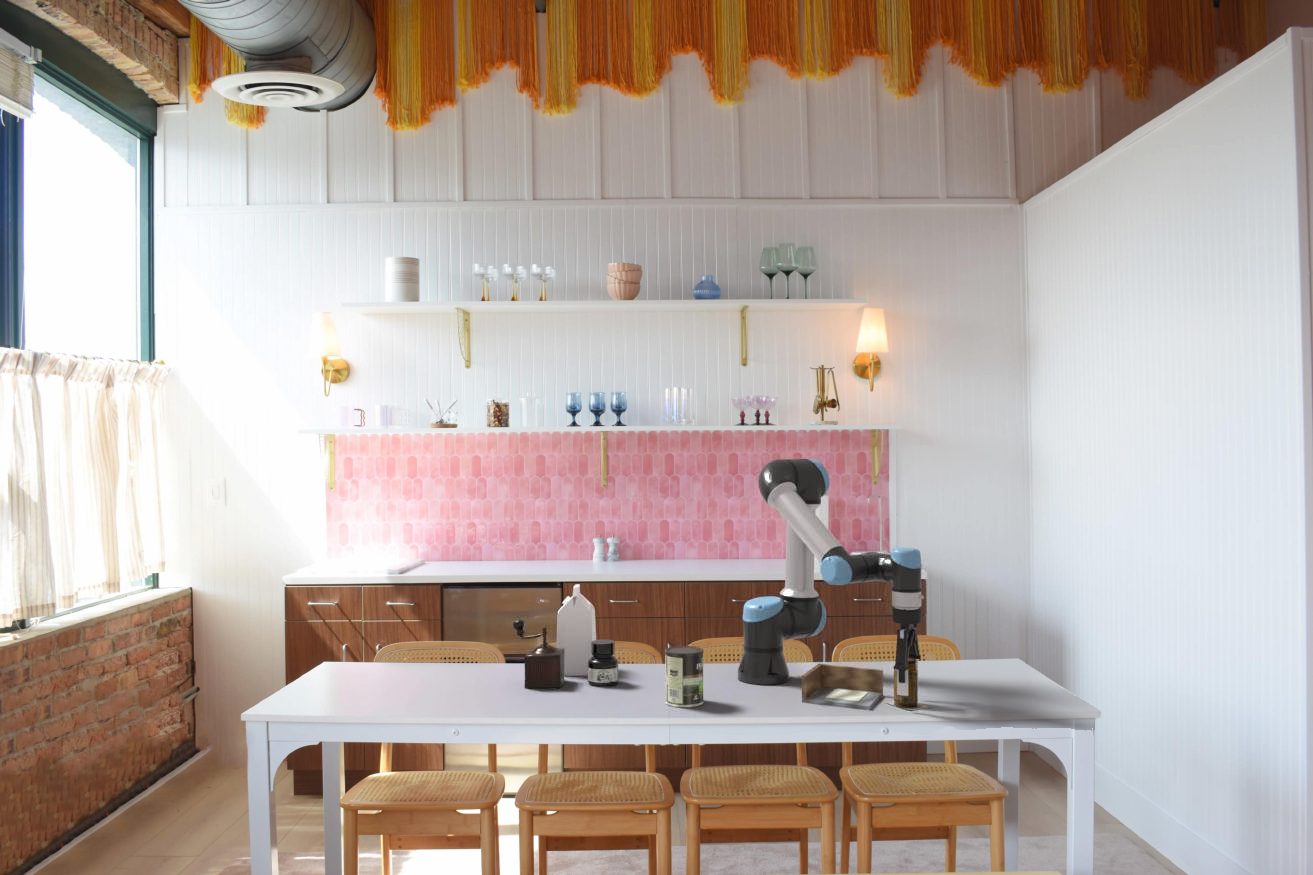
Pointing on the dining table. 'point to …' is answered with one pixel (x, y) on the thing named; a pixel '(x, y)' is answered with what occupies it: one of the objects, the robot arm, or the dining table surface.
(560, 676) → the manual coffee grinder
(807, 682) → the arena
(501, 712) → the dining table surface
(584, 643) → the milk
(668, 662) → the coffee can
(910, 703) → the condiment
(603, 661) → the ink bottle
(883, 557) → the robot arm
